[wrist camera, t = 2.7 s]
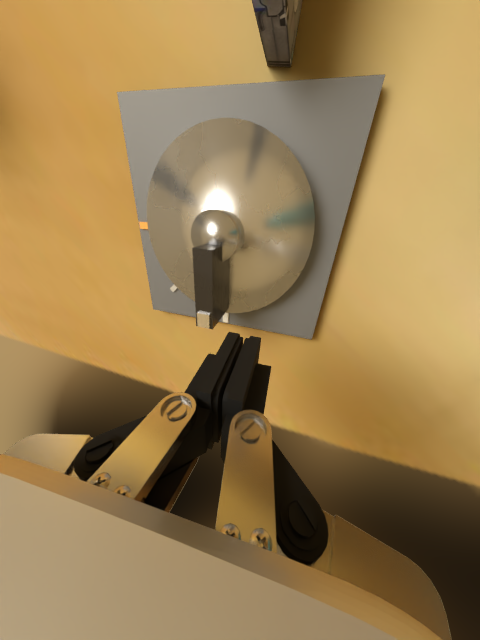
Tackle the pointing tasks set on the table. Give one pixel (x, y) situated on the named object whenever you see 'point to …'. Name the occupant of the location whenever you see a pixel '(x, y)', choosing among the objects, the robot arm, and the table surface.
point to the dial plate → (304, 142)
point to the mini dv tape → (278, 29)
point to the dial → (230, 217)
